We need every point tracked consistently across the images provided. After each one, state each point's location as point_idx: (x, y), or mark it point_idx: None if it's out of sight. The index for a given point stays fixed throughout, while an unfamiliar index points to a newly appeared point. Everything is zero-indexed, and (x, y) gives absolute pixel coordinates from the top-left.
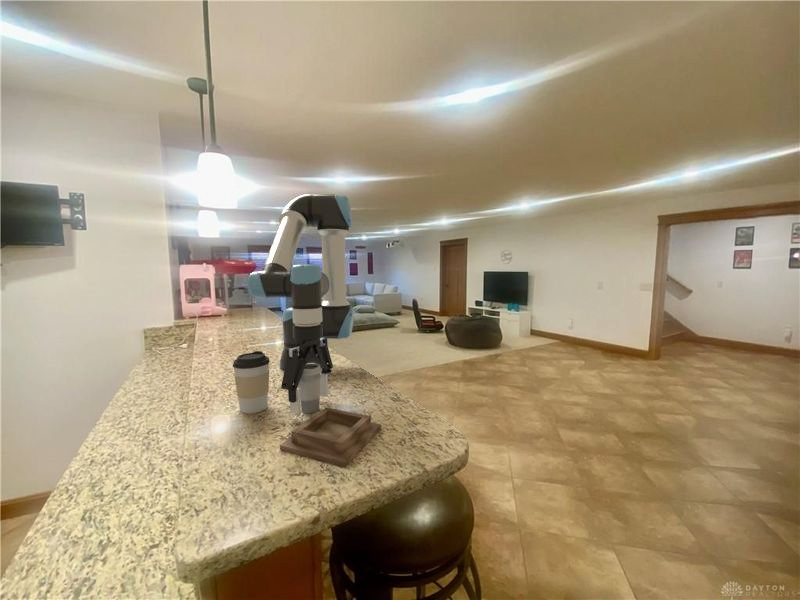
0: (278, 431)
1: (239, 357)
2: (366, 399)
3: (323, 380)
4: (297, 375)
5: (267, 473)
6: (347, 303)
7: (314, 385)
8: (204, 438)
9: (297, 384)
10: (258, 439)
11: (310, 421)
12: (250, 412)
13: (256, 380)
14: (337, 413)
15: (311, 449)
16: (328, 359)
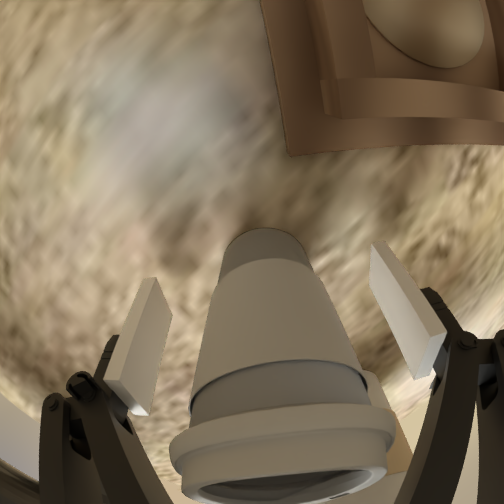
0: (454, 228)
1: None
2: (27, 131)
3: (139, 358)
4: (469, 420)
5: None
6: None
7: (313, 326)
8: (487, 334)
9: (458, 361)
10: (493, 240)
11: (489, 99)
12: (376, 376)
13: (399, 459)
14: (362, 7)
15: None
16: (60, 466)
